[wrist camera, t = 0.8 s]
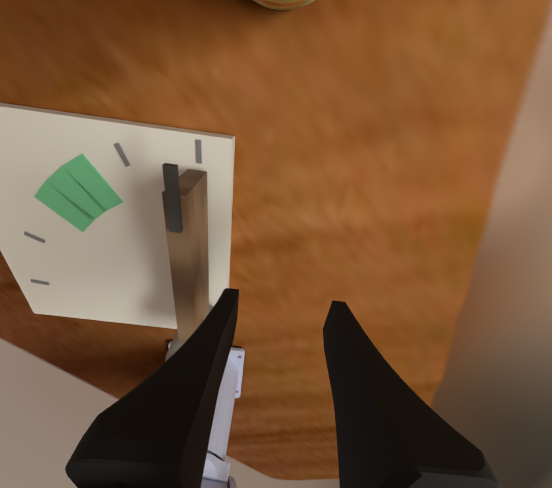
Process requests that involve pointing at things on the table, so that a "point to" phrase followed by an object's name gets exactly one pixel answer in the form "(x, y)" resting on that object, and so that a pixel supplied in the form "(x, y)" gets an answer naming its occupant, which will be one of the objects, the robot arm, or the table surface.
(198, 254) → the tuning lever
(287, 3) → the sauce bottle
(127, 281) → the tuner dial board
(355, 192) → the table surface
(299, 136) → the table surface
